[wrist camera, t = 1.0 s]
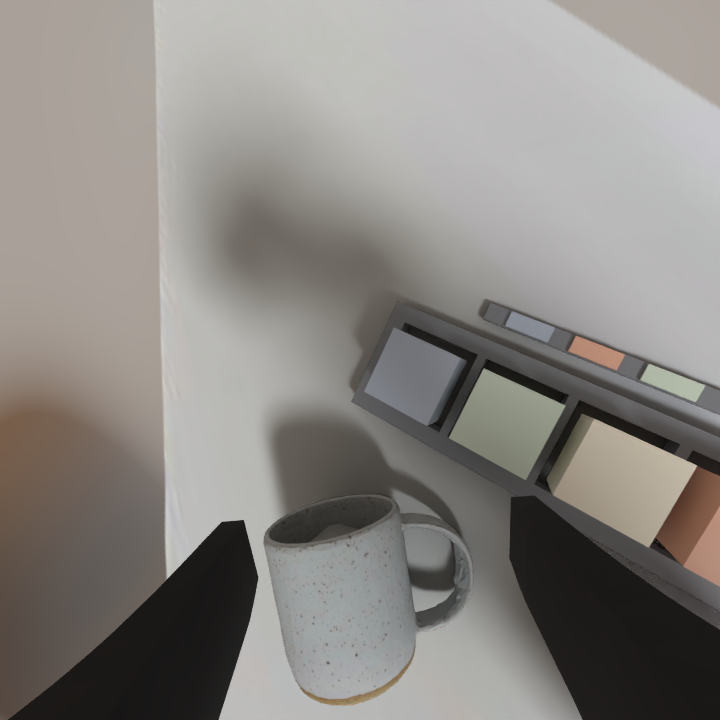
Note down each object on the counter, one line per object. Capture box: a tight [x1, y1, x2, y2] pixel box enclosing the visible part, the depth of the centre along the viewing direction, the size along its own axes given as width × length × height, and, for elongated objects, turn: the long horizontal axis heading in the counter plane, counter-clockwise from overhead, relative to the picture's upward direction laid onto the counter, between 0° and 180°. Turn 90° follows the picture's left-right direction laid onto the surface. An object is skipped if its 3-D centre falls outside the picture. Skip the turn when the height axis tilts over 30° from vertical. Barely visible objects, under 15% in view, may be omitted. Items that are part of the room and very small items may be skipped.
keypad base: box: [351, 302, 720, 611], centre depth 20 cm, size 22×7×1 cm, turn 63°
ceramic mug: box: [264, 495, 474, 706], centre depth 20 cm, size 11×8×8 cm
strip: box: [483, 303, 720, 415], centre depth 20 cm, size 12×1×1 cm, turn 63°
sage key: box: [449, 369, 565, 480], centre depth 19 cm, size 4×4×3 cm
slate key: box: [364, 328, 467, 426], centre depth 20 cm, size 4×4×3 cm
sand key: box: [547, 414, 697, 548], centre depth 17 cm, size 4×4×3 cm
